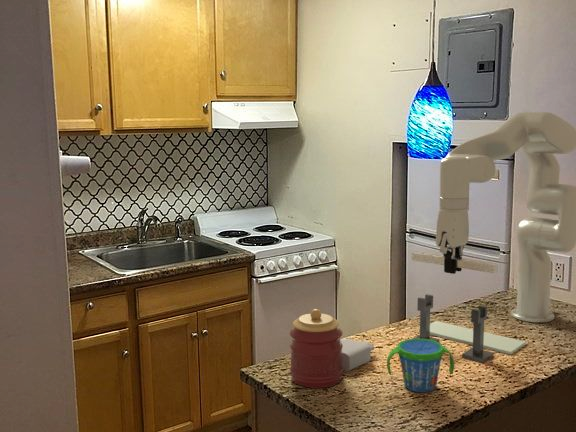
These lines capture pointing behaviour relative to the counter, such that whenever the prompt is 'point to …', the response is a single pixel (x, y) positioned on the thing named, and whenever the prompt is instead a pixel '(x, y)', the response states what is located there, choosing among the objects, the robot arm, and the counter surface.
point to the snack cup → (420, 363)
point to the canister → (316, 350)
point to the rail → (459, 262)
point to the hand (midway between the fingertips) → (452, 271)
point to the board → (466, 337)
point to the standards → (476, 318)
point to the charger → (355, 353)
